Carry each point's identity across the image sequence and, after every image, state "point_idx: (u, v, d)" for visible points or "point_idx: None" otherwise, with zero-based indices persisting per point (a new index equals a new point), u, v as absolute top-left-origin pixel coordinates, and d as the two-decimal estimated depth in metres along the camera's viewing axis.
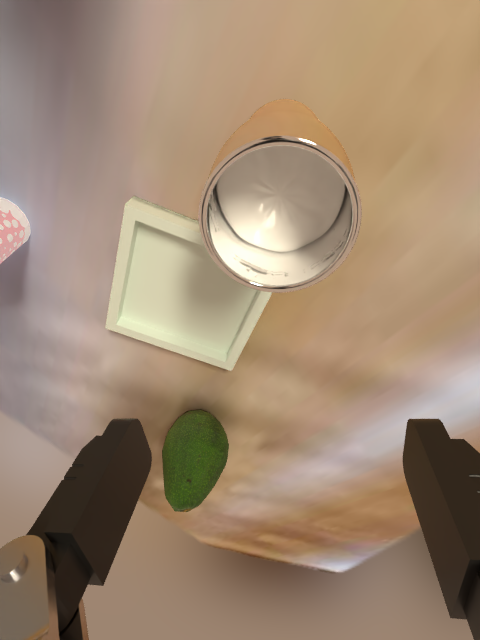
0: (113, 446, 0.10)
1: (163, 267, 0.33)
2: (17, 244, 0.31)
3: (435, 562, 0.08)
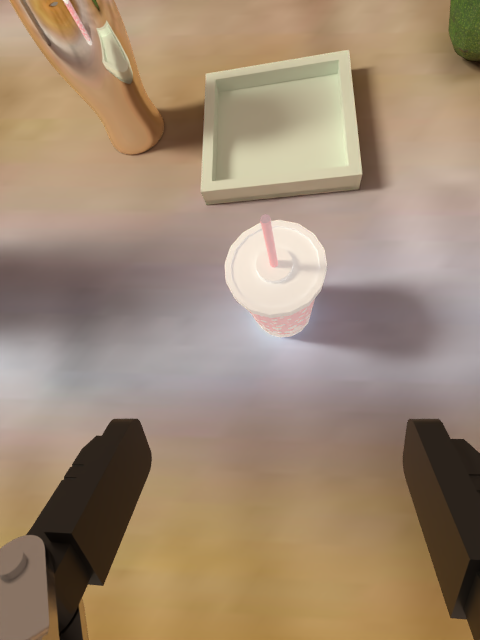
0: (113, 446, 0.10)
1: (260, 159, 0.33)
2: None
3: (435, 562, 0.08)
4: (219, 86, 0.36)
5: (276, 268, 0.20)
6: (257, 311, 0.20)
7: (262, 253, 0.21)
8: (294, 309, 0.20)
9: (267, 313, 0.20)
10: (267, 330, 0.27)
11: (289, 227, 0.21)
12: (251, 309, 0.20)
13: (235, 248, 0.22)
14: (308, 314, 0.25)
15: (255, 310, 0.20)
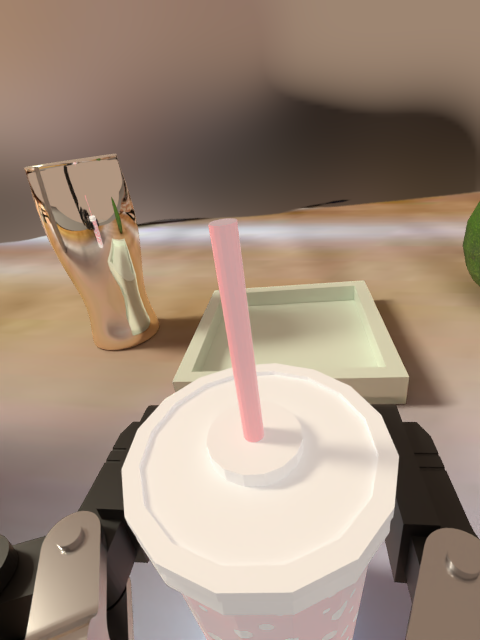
0: None
1: (262, 360, 0.25)
2: None
3: None
4: None
5: (260, 445, 0.08)
6: (179, 575, 0.06)
7: (229, 411, 0.09)
8: (307, 583, 0.05)
9: (210, 587, 0.06)
10: None
11: (295, 376, 0.10)
12: (161, 564, 0.06)
13: (174, 403, 0.10)
14: (347, 637, 0.09)
15: (172, 569, 0.06)
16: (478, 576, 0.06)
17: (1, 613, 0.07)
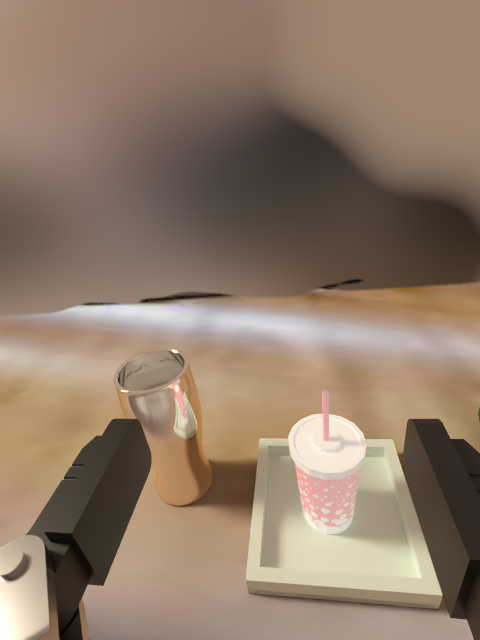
0: (113, 446, 0.10)
1: (313, 541, 0.30)
2: None
3: (435, 562, 0.08)
4: (271, 450, 0.38)
5: (328, 441, 0.28)
6: (314, 470, 0.26)
7: (317, 431, 0.29)
8: (344, 471, 0.26)
9: (322, 472, 0.26)
10: (315, 519, 0.30)
11: (335, 419, 0.30)
12: (309, 468, 0.26)
13: (296, 428, 0.30)
14: (352, 501, 0.29)
15: (313, 469, 0.26)
16: None
17: None
